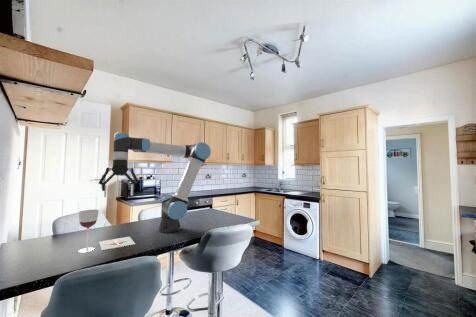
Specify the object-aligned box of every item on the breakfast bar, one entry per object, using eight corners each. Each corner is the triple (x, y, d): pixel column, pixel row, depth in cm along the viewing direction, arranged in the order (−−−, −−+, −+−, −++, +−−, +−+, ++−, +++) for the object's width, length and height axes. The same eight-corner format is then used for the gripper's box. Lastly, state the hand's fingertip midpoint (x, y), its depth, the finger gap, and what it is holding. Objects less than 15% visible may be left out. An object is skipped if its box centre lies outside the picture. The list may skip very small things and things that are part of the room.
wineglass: (72, 251, 108) (75, 212, 109) (89, 246, 116) (91, 209, 117) (84, 253, 105) (86, 213, 106) (100, 247, 113) (102, 210, 115)
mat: (129, 237, 132) (129, 236, 132) (135, 244, 119) (135, 243, 119) (98, 242, 122) (98, 241, 122) (101, 250, 109) (101, 249, 109)
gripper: (141, 160, 134) (140, 194, 133) (94, 158, 119) (92, 196, 117) (144, 160, 128) (143, 195, 127) (95, 158, 113) (93, 198, 112)
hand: (118, 196), depth 122 cm, fingers open, 13 cm apart
